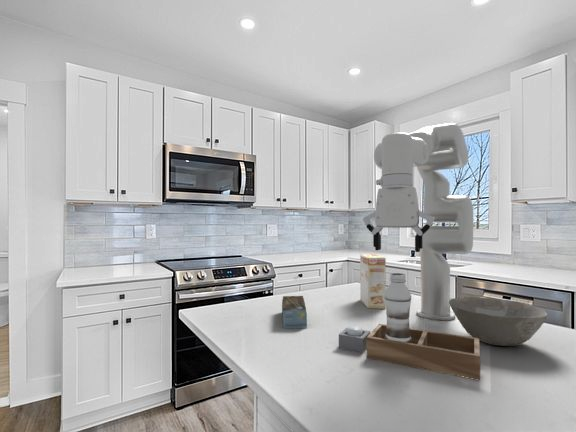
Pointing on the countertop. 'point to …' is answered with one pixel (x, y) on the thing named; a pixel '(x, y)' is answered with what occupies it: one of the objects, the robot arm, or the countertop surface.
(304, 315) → the brown-grey rectangular block
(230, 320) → the countertop surface
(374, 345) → the walnut bottle rack
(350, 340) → the button housing
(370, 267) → the coffeecake box
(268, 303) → the countertop surface
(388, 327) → the plastic bottle
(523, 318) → the ceramic bowl
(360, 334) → the white domed push button
